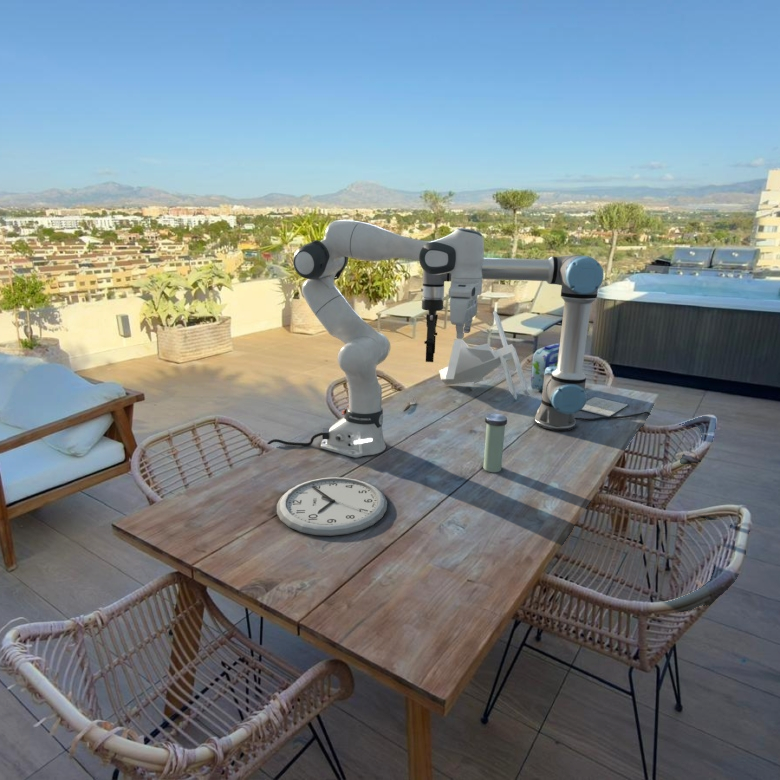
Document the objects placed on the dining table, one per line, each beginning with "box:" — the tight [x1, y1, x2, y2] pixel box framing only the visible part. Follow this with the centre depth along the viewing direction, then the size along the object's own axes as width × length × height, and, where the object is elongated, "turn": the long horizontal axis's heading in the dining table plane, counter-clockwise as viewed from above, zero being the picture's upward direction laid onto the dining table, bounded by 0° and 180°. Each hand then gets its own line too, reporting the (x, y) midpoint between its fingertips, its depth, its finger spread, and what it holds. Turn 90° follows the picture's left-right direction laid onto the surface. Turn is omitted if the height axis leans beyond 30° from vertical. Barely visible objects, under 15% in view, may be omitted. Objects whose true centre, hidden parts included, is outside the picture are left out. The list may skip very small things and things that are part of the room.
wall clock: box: [276, 476, 388, 537], centre depth 142 cm, size 30×2×30 cm
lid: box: [484, 413, 508, 426], centre depth 162 cm, size 7×7×2 cm
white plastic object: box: [438, 310, 531, 400], centre depth 245 cm, size 37×45×31 cm
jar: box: [482, 423, 506, 473], centre depth 164 cm, size 6×6×17 cm
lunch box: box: [530, 343, 560, 391], centre depth 249 cm, size 26×11×21 cm, turn 134°
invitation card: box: [580, 396, 629, 417], centre depth 226 cm, size 21×1×15 cm
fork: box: [403, 396, 419, 412], centre depth 222 cm, size 3×16×2 cm, turn 160°
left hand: (463, 335), depth 154 cm, fingers open, 8 cm apart
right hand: (430, 357), depth 190 cm, fingers open, 13 cm apart
